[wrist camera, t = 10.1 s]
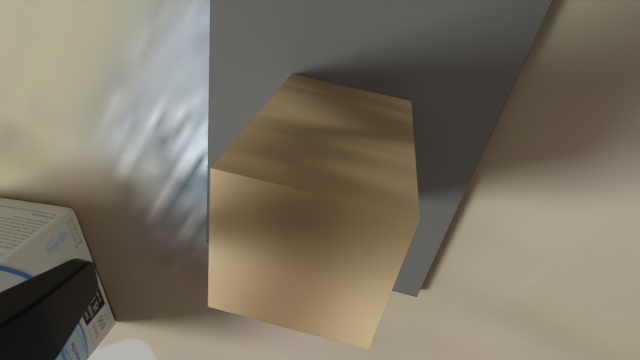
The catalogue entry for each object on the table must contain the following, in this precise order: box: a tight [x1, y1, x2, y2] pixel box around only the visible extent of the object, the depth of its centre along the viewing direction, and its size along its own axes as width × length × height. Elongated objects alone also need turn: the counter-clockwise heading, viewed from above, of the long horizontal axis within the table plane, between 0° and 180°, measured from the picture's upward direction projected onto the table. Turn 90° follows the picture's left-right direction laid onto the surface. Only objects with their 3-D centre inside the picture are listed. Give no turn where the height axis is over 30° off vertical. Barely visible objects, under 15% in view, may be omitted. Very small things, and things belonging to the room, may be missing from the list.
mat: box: [207, 0, 552, 297], centre depth 17 cm, size 12×16×1 cm
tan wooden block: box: [208, 74, 420, 349], centre depth 14 cm, size 5×5×8 cm
